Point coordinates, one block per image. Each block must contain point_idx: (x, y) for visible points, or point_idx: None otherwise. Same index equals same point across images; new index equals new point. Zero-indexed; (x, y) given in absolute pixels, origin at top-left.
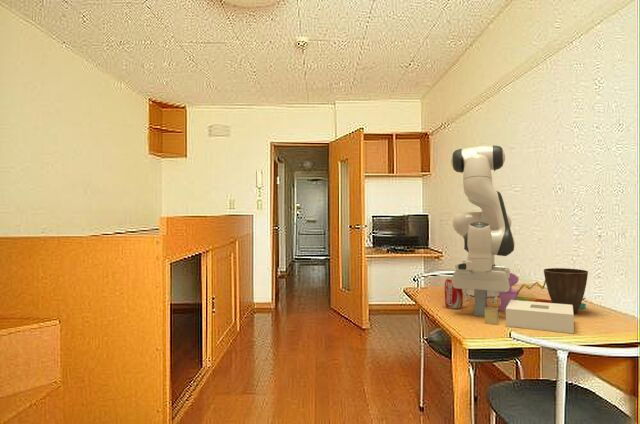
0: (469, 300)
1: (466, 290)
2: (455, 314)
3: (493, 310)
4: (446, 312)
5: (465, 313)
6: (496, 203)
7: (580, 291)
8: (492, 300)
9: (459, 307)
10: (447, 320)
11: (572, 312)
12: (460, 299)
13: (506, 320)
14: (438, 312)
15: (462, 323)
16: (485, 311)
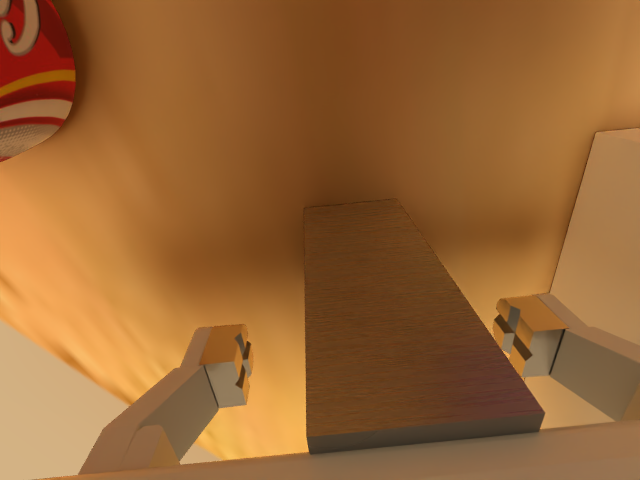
0: (249, 347)
1: (168, 457)
2: (176, 308)
3: None
4: (84, 287)
5: (223, 245)
6: None
7: None
8: (518, 356)
9: (69, 92)
10: (212, 435)
11: None
12: (9, 103)
13: (542, 425)
14: (39, 315)
15: (303, 444)
16: None
